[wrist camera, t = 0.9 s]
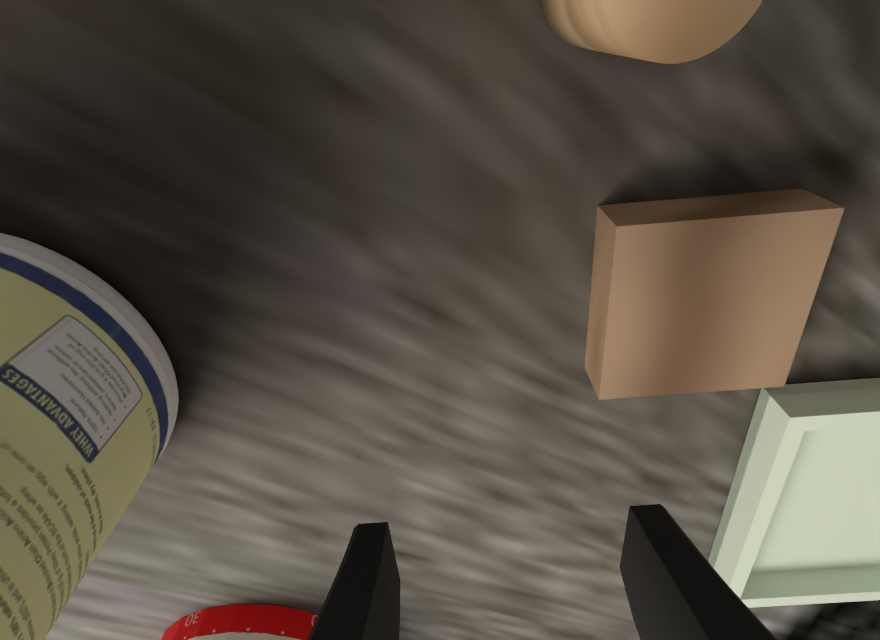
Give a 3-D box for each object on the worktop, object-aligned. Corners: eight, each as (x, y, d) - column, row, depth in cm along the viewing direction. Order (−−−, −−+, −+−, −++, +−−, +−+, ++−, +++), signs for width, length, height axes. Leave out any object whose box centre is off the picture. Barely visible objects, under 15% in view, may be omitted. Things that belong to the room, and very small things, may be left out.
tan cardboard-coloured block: (794, 185, 18) (844, 207, 16) (748, 349, 21) (784, 386, 19) (594, 202, 18) (616, 226, 16) (582, 361, 21) (599, 399, 19)
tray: (1040, 365, 21) (1093, 396, 20) (912, 561, 28) (943, 596, 27) (762, 386, 22) (790, 417, 20) (704, 574, 29) (721, 609, 27)
